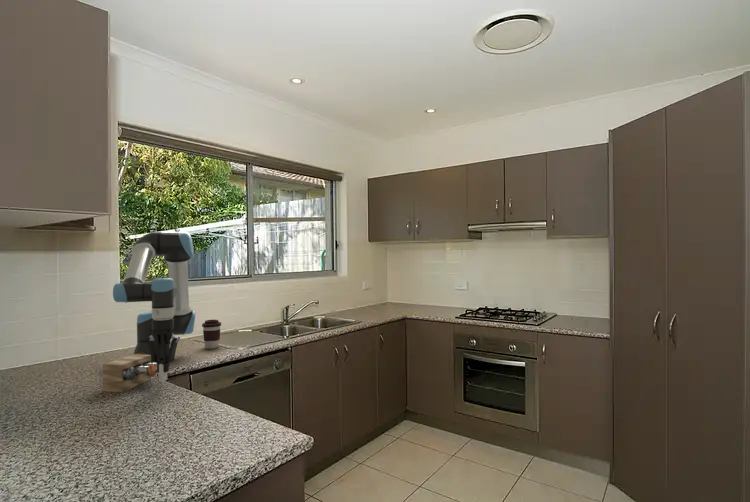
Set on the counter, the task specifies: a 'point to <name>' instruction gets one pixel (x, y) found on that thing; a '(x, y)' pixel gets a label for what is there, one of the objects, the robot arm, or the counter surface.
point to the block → (115, 373)
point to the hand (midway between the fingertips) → (163, 380)
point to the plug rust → (146, 370)
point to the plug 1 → (127, 374)
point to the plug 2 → (149, 364)
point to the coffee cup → (211, 333)
